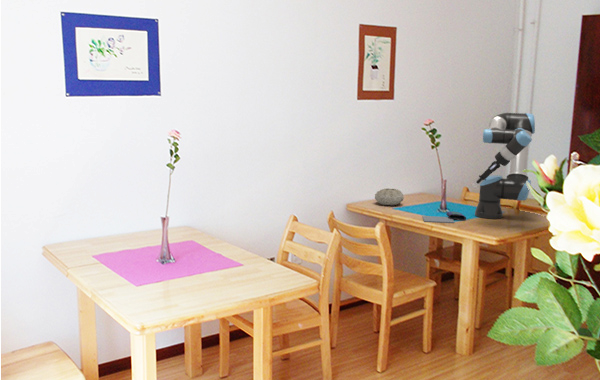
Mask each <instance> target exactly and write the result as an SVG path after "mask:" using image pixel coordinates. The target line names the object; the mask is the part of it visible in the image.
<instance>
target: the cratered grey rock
mask: <svg viewBox="0 0 600 380" xmlns="http://www.w3.org/2000/svg"><path fill="white" fill-rule="evenodd" d="M404 198H405V196H404V193H403V192H402V191H401V190H400V189H397V188H382V189H380V190H377V191H376V193H375V194H374V199H375V201H376V202H377V203H378V204H380V205H382V206H396V205H398V204H401V203H402V202H403V201H404Z"/></svg>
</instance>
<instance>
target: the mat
mask: <svg viewBox="0 0 600 380" xmlns="http://www.w3.org/2000/svg"><path fill="white" fill-rule="evenodd" d="M422 219H423V222H424V223H437V224H438V223H439V224H443V223H444V224H455V219H451V218H450V217H448V216H437V215H436V216H434V215H422Z"/></svg>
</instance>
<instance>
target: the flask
mask: <svg viewBox="0 0 600 380" xmlns="http://www.w3.org/2000/svg"><path fill="white" fill-rule="evenodd" d="M446 217H450V218H451V219H453V220H458V221H467V217H466V216H465V215H464V214H463V213H462V212H458V211H447V212H446Z"/></svg>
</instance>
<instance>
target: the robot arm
mask: <svg viewBox="0 0 600 380" xmlns="http://www.w3.org/2000/svg"><path fill="white" fill-rule="evenodd" d="M488 126H489V128H485V129H484V130H483V132H482V142H483V143H484V144H501V145H504V147H502V148H501V149H500V150H499V152H497V153H496V154H495V155H494V159H495V160H494V161H492V163H491V164H490V165H489V166H488V167H487V169H486V170H485V171H484V172H482V174H479V175H478V178H477V179H476V180H475V181H474V182H472V184H471V186H472V187H473V188H474V189H477V188H478V186H479V196H478V203H477V205H476V209H475V210H474V216H475V217H478V218H482V219H490V220H491V219H492V220H493V219H501V218H503V215H504V212H503V209H502V205H501V200H509V201H510V200H511V201H526V200H527V199H528V197H529V193H530V189H529V190H528V188H527V186H526V181H528V182H529V183H530V185H532V181H531V180H530V179H529V176H528V175H527V171H526V172H522V170H524V169H526V170H527V165H528V163H527V162H528V151H529V144H530V143H531V142H532V140H533V138H532V135H533V134H535V133H536V129H535V127H536V125H535V115H534V114H532V113H526V112H525V113H524V112H522V113H519V112H503V113H500V114H497V115H495V116H492V118H491V119H490V121H489V123H488ZM509 163H510V165H509V166H510V167H509V173H508V174H507V175H506V178H503V175H496V174H495V175H491V174H492V173H494V172H495V171H496V170H498V169H499V168H500V167H501V165H502V166H503V167H506V166H507V165H508V164H509Z"/></svg>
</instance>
